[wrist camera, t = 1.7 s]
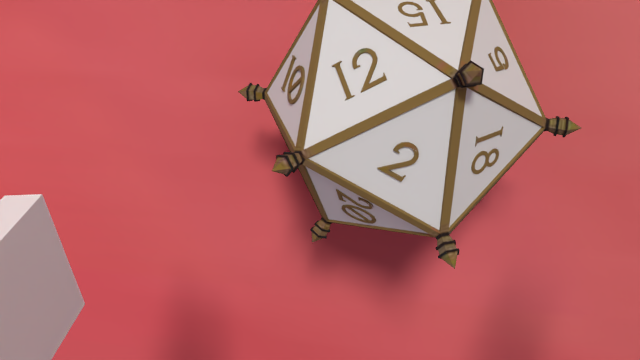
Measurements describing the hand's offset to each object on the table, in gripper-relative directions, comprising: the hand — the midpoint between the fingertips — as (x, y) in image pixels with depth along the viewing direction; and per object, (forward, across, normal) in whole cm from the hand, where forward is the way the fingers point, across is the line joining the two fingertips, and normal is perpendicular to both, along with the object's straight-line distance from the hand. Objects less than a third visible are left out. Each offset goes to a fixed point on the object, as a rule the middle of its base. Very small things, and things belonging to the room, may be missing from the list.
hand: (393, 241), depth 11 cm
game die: (+11, 0, 0) cm, 11 cm away
